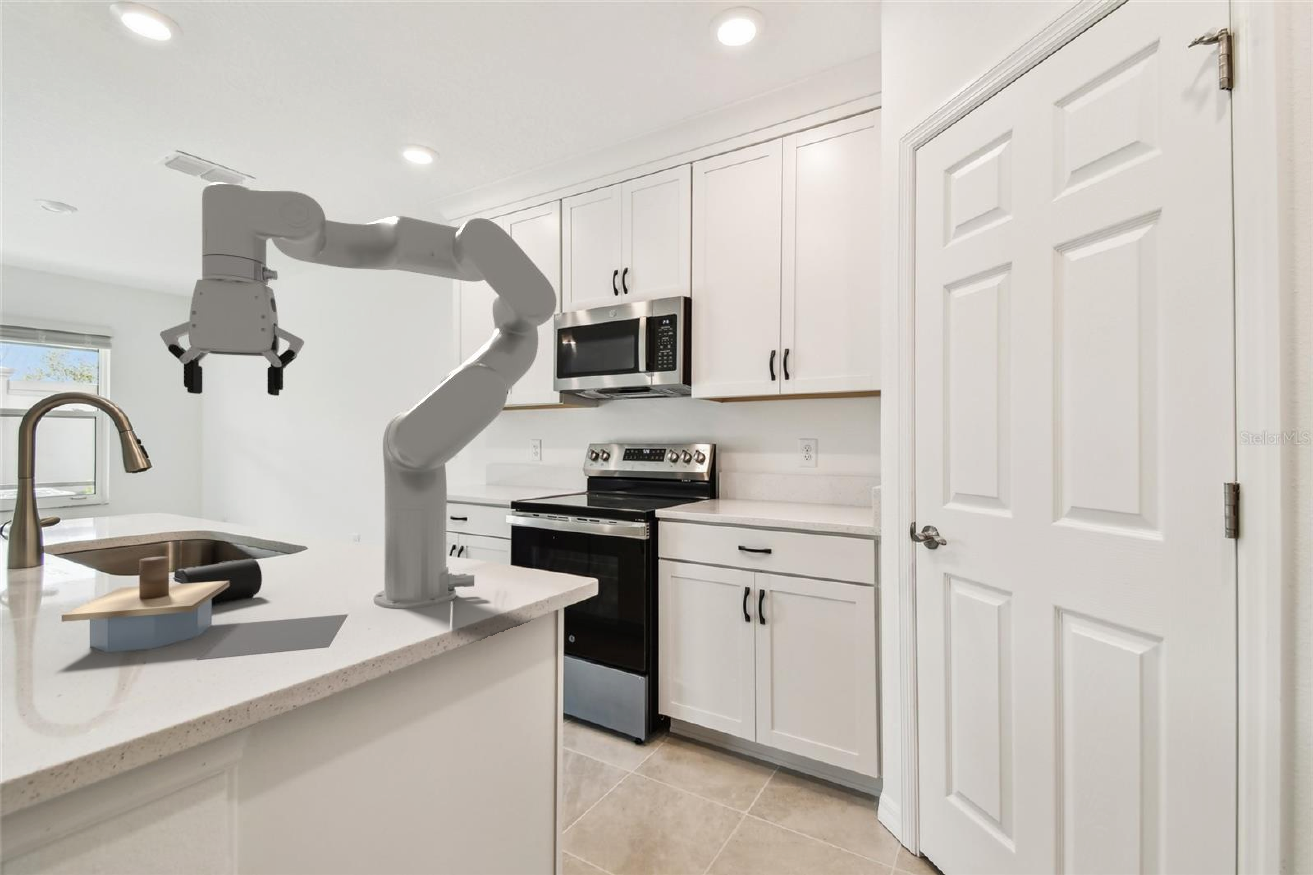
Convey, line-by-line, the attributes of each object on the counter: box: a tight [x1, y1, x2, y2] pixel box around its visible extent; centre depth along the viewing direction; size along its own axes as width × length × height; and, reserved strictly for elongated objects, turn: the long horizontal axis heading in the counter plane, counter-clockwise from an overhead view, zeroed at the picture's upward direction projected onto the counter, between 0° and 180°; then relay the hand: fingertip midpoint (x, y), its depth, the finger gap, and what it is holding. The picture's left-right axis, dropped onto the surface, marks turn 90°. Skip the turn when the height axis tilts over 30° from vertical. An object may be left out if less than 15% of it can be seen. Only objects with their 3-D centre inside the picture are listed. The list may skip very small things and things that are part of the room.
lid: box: [61, 556, 229, 622], centre depth 79 cm, size 13×13×6 cm
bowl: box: [89, 598, 213, 653], centre depth 79 cm, size 11×11×5 cm
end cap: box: [172, 558, 263, 606], centre depth 94 cm, size 10×7×7 cm
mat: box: [196, 614, 349, 661], centre depth 79 cm, size 14×14×1 cm
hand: (234, 394), depth 85 cm, fingers open, 9 cm apart
